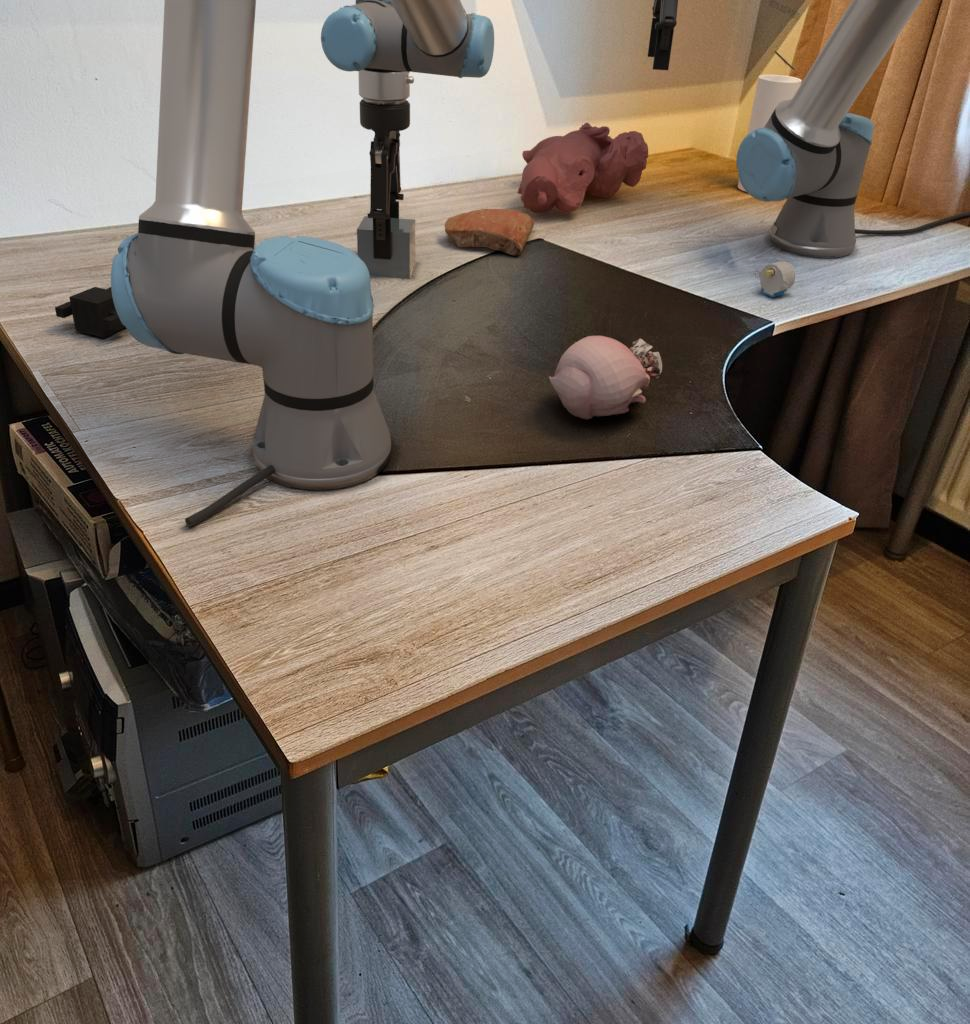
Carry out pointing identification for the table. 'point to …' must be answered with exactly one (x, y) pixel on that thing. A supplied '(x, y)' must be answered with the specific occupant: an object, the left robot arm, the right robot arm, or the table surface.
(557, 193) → the reddish clay animal figure
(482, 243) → the ceramic shard
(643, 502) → the table surface
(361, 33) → the left robot arm
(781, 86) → the tall white tube
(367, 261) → the grey cube
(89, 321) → the toy
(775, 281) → the electric motor
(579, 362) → the toy
